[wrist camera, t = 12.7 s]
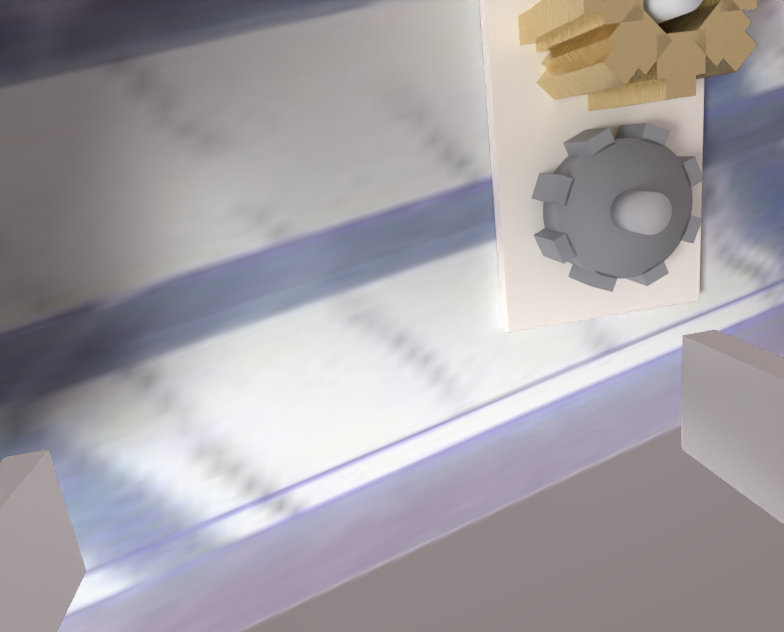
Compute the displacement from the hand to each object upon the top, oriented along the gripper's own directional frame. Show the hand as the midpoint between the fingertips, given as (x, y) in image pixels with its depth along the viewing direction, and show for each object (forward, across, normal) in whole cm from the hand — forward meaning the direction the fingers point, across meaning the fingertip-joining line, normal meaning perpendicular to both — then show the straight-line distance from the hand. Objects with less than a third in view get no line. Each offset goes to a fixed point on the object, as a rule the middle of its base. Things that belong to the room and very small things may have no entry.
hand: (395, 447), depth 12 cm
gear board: (+27, +18, +6) cm, 33 cm away
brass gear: (+26, +18, +12) cm, 33 cm away
